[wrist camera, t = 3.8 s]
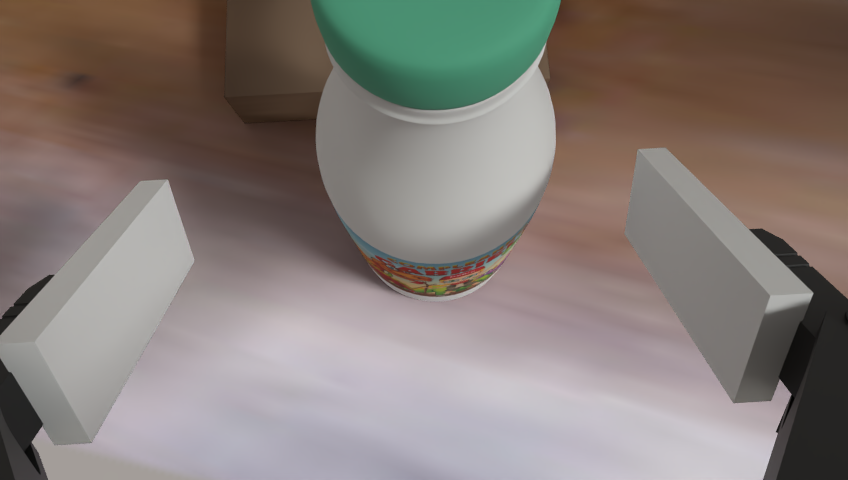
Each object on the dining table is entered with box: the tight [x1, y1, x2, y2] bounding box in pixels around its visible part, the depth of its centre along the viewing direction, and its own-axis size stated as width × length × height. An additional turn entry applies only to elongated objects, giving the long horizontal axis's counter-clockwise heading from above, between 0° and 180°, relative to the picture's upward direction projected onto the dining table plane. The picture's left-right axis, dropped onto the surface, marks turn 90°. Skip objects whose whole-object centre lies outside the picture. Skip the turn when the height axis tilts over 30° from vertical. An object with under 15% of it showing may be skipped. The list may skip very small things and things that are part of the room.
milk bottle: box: [310, 0, 561, 302], centre depth 19 cm, size 8×8×20 cm
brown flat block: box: [224, 0, 550, 123], centre depth 30 cm, size 16×11×3 cm
